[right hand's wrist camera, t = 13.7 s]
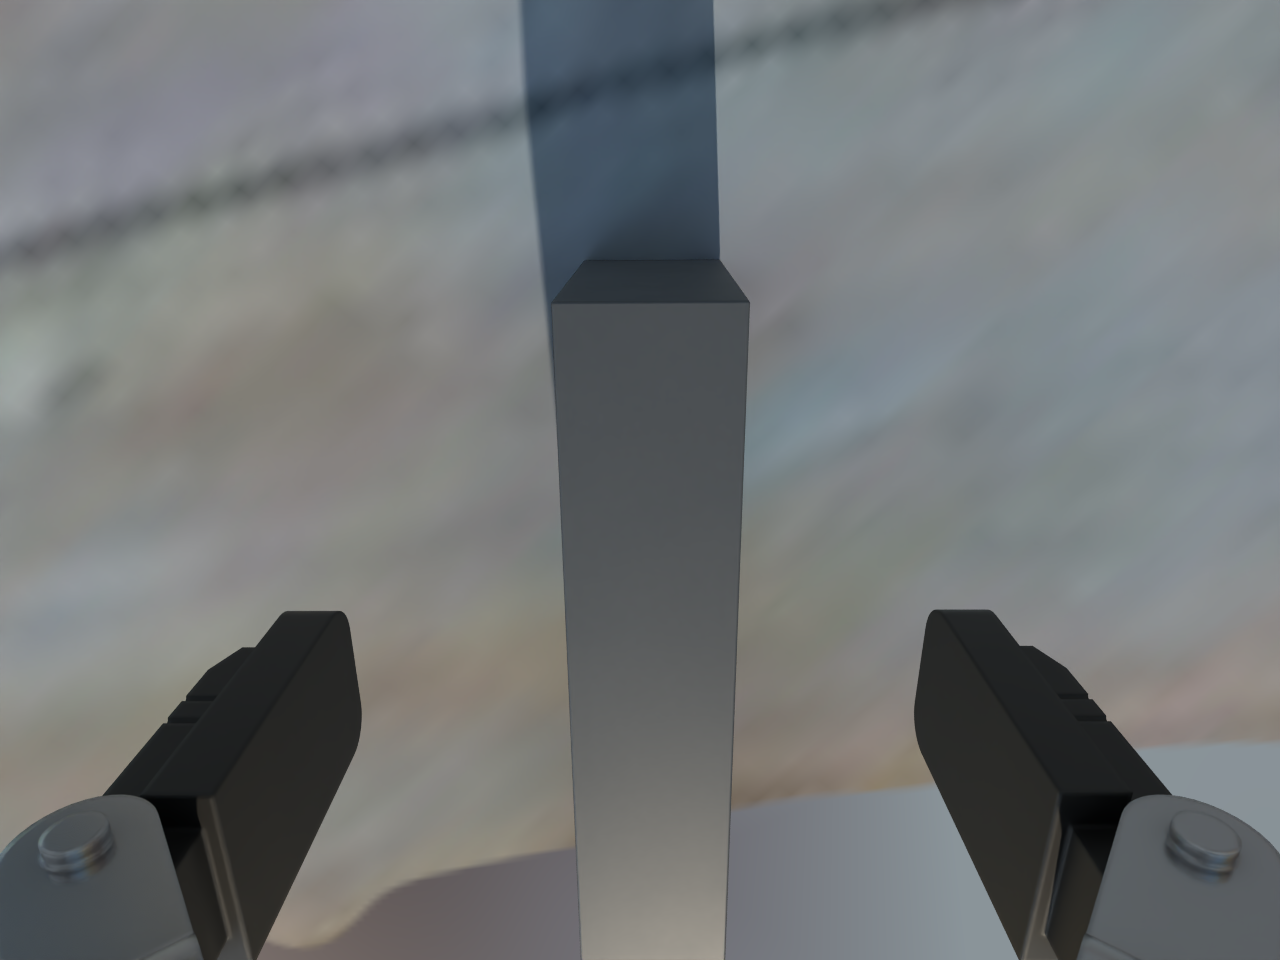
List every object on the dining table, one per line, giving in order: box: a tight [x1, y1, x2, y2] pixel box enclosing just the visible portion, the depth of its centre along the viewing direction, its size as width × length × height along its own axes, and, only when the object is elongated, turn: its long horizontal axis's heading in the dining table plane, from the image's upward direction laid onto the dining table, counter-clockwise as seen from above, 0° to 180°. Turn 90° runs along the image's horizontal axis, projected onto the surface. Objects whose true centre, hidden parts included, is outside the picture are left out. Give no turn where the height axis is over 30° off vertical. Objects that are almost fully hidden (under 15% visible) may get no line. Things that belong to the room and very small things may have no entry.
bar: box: [551, 260, 750, 960], centre depth 29 cm, size 28×5×10 cm, turn 0°
